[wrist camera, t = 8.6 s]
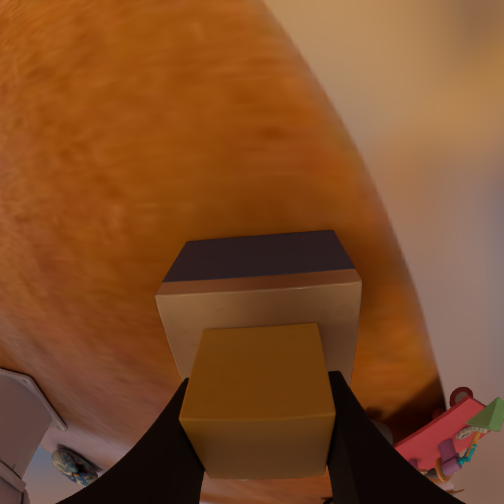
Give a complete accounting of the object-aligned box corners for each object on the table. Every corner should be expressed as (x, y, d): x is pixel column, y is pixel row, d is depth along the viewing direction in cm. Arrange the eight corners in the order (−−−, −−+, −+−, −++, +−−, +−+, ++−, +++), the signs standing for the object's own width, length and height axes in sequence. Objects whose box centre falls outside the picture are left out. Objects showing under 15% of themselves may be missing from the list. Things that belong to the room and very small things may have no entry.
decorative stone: (55, 443, 25) (55, 444, 28) (46, 472, 21) (48, 469, 25) (104, 466, 26) (99, 464, 30) (97, 493, 23) (93, 489, 26)
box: (210, 352, 17) (199, 403, 14) (186, 241, 15) (161, 281, 11) (330, 344, 17) (342, 396, 13) (333, 229, 14) (355, 267, 10)
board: (199, 403, 14) (195, 418, 13) (161, 281, 11) (153, 295, 10) (342, 396, 13) (345, 411, 12) (355, 267, 10) (363, 281, 10)
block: (220, 399, 12) (208, 478, 8) (202, 327, 11) (177, 418, 7) (314, 394, 12) (324, 475, 8) (317, 321, 10) (336, 414, 7)
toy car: (329, 429, 21) (334, 502, 15) (450, 338, 16) (491, 418, 10) (420, 454, 24) (431, 503, 18) (508, 390, 19) (532, 441, 13)
